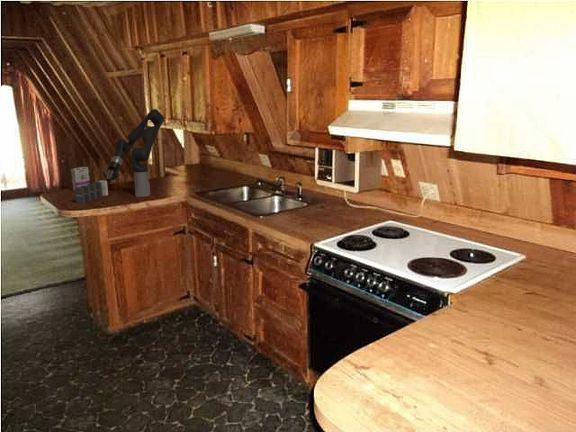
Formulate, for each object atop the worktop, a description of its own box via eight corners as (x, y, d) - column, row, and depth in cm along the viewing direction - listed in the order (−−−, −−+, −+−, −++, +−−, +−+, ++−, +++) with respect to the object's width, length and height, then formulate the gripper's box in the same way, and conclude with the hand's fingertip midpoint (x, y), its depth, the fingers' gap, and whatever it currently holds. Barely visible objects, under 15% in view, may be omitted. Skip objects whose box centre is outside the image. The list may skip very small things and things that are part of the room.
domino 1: (78, 202, 298) (77, 187, 295) (85, 202, 296) (83, 187, 294) (76, 202, 296) (74, 187, 293) (83, 203, 294) (81, 188, 292)
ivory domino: (101, 194, 320) (100, 180, 317) (108, 194, 319) (106, 180, 316) (100, 194, 318) (98, 180, 315) (106, 195, 317) (105, 181, 314)
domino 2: (84, 200, 303) (83, 185, 300) (91, 200, 302) (89, 185, 299) (82, 200, 301) (81, 186, 298) (89, 201, 300) (87, 186, 297)
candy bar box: (87, 188, 337) (85, 166, 332) (91, 189, 334) (88, 167, 329) (72, 190, 328) (70, 168, 324) (76, 191, 325) (74, 169, 321)
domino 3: (90, 198, 309) (89, 183, 306) (97, 198, 308) (95, 184, 305) (88, 198, 307) (87, 184, 304) (95, 199, 306) (93, 184, 303)
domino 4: (96, 196, 314) (95, 181, 312) (102, 196, 313) (101, 182, 310) (94, 196, 312) (93, 182, 310) (100, 197, 311) (99, 183, 308)
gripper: (126, 167, 330) (117, 187, 322) (110, 166, 333) (101, 186, 325) (121, 161, 323) (112, 181, 315) (105, 160, 326) (95, 180, 318)
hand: (106, 184), depth 320 cm, fingers closed
